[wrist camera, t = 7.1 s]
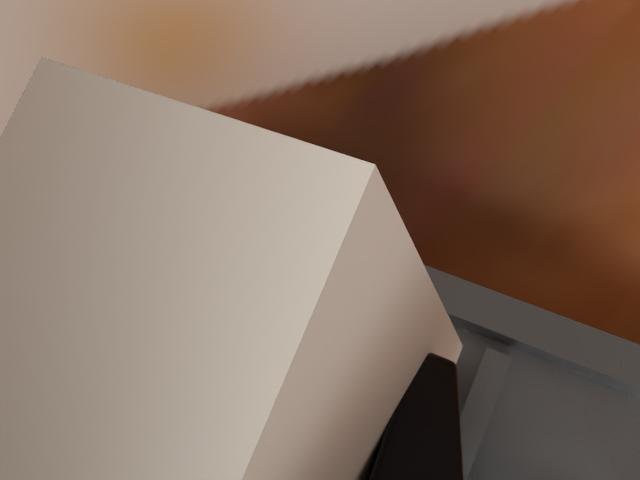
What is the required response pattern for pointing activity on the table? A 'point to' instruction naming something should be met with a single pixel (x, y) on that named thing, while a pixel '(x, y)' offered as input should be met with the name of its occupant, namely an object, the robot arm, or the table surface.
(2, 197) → the cream rectangular block
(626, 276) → the table surface
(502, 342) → the rack
